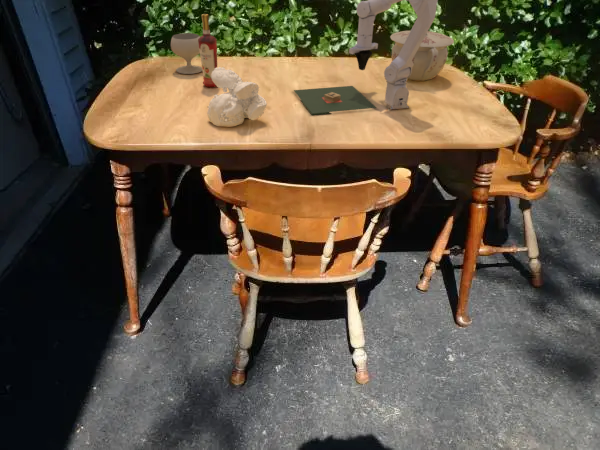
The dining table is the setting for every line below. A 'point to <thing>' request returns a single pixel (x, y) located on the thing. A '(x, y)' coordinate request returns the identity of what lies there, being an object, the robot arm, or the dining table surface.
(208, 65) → the liquor
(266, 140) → the dining table surface
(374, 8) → the robot arm
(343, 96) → the game board
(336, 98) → the letter tile
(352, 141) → the dining table surface
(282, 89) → the dining table surface
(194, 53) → the chalice
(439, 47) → the chamber pot
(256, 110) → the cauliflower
